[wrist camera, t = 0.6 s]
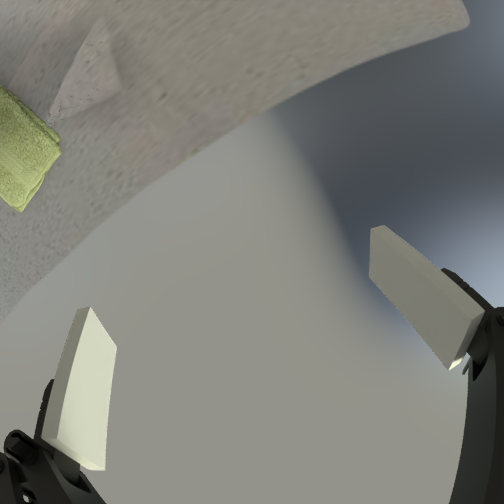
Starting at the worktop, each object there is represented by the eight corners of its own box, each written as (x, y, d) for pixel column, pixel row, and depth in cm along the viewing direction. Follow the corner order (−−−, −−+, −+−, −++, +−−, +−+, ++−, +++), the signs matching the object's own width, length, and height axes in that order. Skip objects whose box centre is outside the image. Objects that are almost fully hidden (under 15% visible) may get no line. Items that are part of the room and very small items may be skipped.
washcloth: (26, 213, 33) (17, 222, 30) (-36, 146, 24) (-48, 151, 22) (71, 144, 31) (62, 147, 28) (2, 74, 22) (-9, 74, 19)
